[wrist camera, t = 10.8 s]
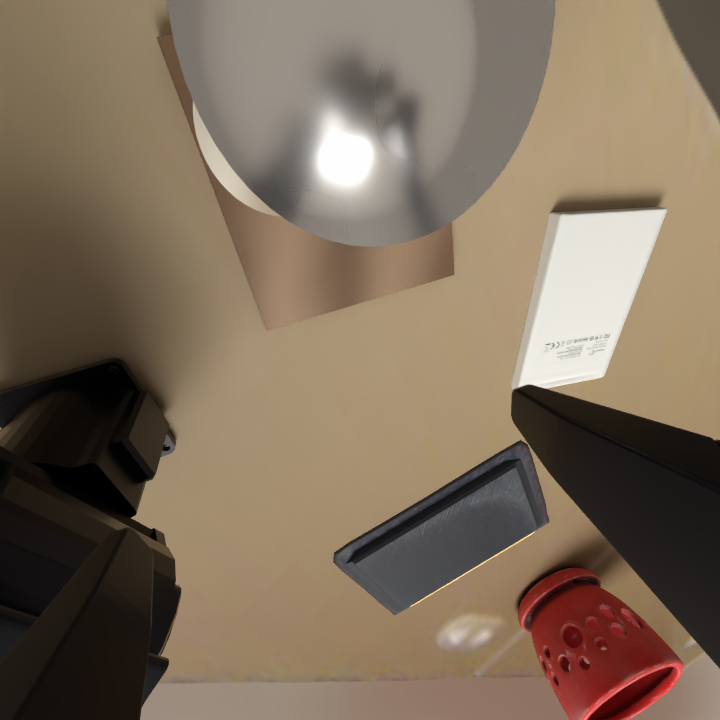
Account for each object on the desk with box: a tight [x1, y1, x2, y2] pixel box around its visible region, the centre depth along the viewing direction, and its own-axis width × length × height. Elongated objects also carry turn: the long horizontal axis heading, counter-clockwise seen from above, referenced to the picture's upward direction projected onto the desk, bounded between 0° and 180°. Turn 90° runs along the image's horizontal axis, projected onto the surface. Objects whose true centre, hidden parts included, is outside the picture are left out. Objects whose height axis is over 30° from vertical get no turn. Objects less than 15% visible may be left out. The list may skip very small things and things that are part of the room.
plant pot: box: [518, 568, 684, 720], centre depth 42 cm, size 13×13×12 cm
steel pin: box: [167, 0, 555, 247], centre depth 10 cm, size 4×4×13 cm
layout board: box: [157, 34, 454, 331], centre depth 17 cm, size 11×12×1 cm
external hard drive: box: [511, 207, 667, 389], centre depth 25 cm, size 2×8×12 cm
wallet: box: [333, 440, 549, 615], centre depth 35 cm, size 20×2×15 cm
